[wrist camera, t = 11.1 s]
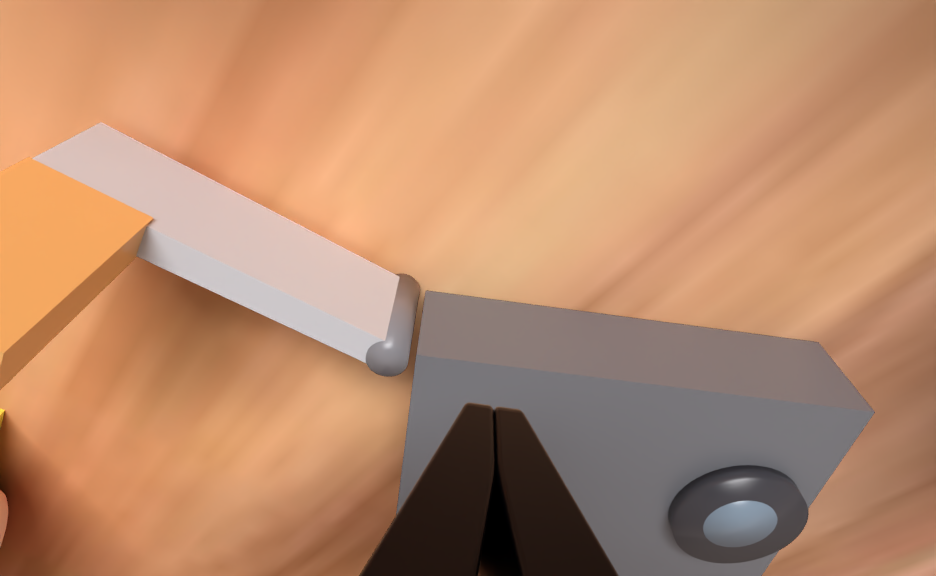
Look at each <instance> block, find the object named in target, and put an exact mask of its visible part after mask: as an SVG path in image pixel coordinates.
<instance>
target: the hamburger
mask: <svg viewBox="0 0 936 576" xmlns="http://www.w3.org/2000/svg"><path fill="white" fill-rule="evenodd" d="M4 412H5V410H3V409H0V428H1V424H2V420H3V416H4ZM7 519H8V503H7V498H6V495H5V494H4V493H3V492H2V491H1V490H0V547H1V544H2V541H3V538H4V534H5V531H6V525H7Z"/></svg>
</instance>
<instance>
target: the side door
mask: <svg viewBox="0 0 936 576" xmlns="http://www.w3.org/2000/svg"><path fill="white" fill-rule="evenodd" d="M136 257H139V258H141V259H144V260H146V261H148V262H150V263H152V264H154V265H156V266H159V267H161V268H163V269H165V270H167V271H169V272H171V273H174V274H176V275H178V276H180V277H182V278H184V279H186V280H189V281H191V282H193V283H195V284H197V285H199V286H201V287H204V288H206V289H208V290H210V291H212V292H214V293H217V294H219V295H221V296H223V297H225V298H227V299H229V300H232V301H234V302H236V303H238V304H240V305H242V306H244V307H247V308H249V309H251V310H253V311H255V312H257V313H259V314H262V315H264V316H266V317H268V318H270V319H272V320H274V321H277V322H279V323H281V324H283V325H285V326H287V327H289V328H292V329H294V330H296V331H298V332H300V333H302V334H304V335H307V336H309V337H311V338H313V339H315V340H317V341H319V342H322V343H324V344H326V345H328V346H330V347H332V348H334V349H337V350H339V351H341V352H343V353H345V354H347V355H349V356H352V357H354V358H356V359H358V360H360V361H362V362H364V363H367V365H368V367H369V368H370V369H371V370H372V371H373V372H375V373H376V374H379V375H382V376H396V375H398V374H400V373H402V372H403V371H404V370H405V369H406V367H407V365H408V360H409V354H410V348H411V342H412V335H413V329H414V323H415V317H416V311H417V305H418V299H419V293H420V287H419V284H418V282H417V281H416V280H415V279H414V278H413V277H411V276H409V275H407V274H393V273H391V272H389V271H388V270H386V269H384V268H382V267H380V266H378V265H376V264H374V263H372V262H370V261H368V260H366V259H364V258H362V257H361V256H359V255H357V254H355V253H353V252H351V251H349V250H347V249H345V248H343V247H341V246H339V245H337V244H335V243H333V242H332V241H330V240H328V239H326V238H324V237H322V236H320V235H318V234H316V233H314V232H312V231H310V230H308V229H306V228H305V227H303V226H301V225H299V224H297V223H295V222H293V221H291V220H289V219H287V218H285V217H283V216H281V215H279V214H278V213H276V212H274V211H272V210H270V209H268V208H266V207H264V206H262V205H260V204H258V203H256V202H254V201H252V200H250V199H249V198H247V197H245V196H243V195H241V194H239V193H237V192H235V191H233V190H231V189H229V188H227V187H225V186H223V185H222V184H220V183H218V182H216V181H214V180H212V179H210V178H208V177H206V176H204V175H202V174H200V173H198V172H196V171H195V170H193V169H191V168H189V167H187V166H185V165H183V164H181V163H179V162H177V161H175V160H173V159H171V158H169V157H167V156H166V155H164V154H162V153H160V152H158V151H156V150H154V149H152V148H150V147H148V146H146V145H144V144H142V143H140V142H139V141H137V140H135V139H133V138H131V137H129V136H127V135H125V134H123V133H121V132H119V131H117V130H115V129H113V128H112V127H110V126H108V125H106V124H104V123H102V122H100V123H98V124H96V125H95V126H93V127H91V128H89V129H87V130H85V131H83V132H81V133H79V134H77V135H76V136H74V137H72V138H70V139H68V140H66V141H64V142H62V143H60V144H58V145H57V146H55V147H53V148H51V149H49V150H47V151H45V152H43V153H41V154H39V155H38V156H36V157H34V158H30V157H28V158H26V159H24V160H22V161H20V162H18V163H16V164H15V165H13V166H11V167H9V168H7V169H5V170H3V171H1V172H0V390H1V389H2V388H3V387H4V386H5V385H6V384H7V383H8V382H9V381H10V380H11V379H12V378H13V377H14V376H15V375H16V374H17V373H18V372H19V371H20V370H21V369H22V368H23V367H25V366H26V365H27V364H28V363H29V362H30V361H31V360H32V359H33V358H34V357H35V356H36V355H37V354H38V353H39V352H40V351H41V350H42V349H43V348H44V347H45V346H46V345H47V344H48V343H49V342H50V341H51V340H52V339H53V338H54V337H55V336H56V335H57V334H58V333H59V332H60V331H61V330H62V329H64V328H65V327H66V326H67V325H68V324H69V323H70V322H71V321H72V320H73V319H74V318H75V317H76V316H77V315H78V314H79V313H80V312H81V311H82V310H83V309H84V308H85V307H86V306H87V305H88V304H89V303H90V302H91V301H92V300H93V299H94V298H95V297H96V296H97V295H98V294H99V293H100V292H101V291H103V290H104V289H105V288H106V287H107V286H108V285H109V284H110V283H111V282H112V281H113V280H114V279H115V278H116V277H117V276H118V275H119V274H120V273H121V272H122V271H123V270H124V269H125V268H126V267H127V266H128V265H129V264H130V263H131V262H132V261H133V260H134V259H135V258H136Z"/></svg>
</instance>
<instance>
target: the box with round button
mask: <svg viewBox="0 0 936 576" xmlns="http://www.w3.org/2000/svg"><path fill="white" fill-rule="evenodd" d="M468 402H471V403H478V404H485V405H490V406H491V407H492V408H493V410H494V409H495V408H496V407H507V408H514V409H519V410H521V411H522V412H523V413H524V414H525V416H526V418H527V419H528V421H529V423H530V425H531V426H532V428H533V430H534V431H535V433H536V435H537V437H538V438H539V440H540V442H541V443H542V445H543V447H544V449H545V450H546V452H547V454H548V455H549V457H550V459H551V461H552V462H553V464H554V466H555V467H556V469H557V471H558V473H559V474H560V476H561V478H562V479H563V481H564V483H565V485H566V486H567V488H568V490H569V491H570V493H571V495H572V496H573V498H574V500H575V502H576V503H577V505H578V507H579V508H580V510H581V512H582V514H583V515H584V517H585V519H586V520H587V522H588V524H589V526H590V527H591V529H592V531H593V532H594V534H595V536H596V538H597V539H598V541H599V543H600V544H601V546H602V548H603V550H604V551H605V553H606V555H607V556H608V558H609V560H610V562H611V563H612V565H613V567H614V568H615V570H616V572H617V573H618V575H619V576H762V574H763V573H764V571H765V570H766V568H767V567H768V565H769V564H770V563H771V561H772V560H773V558H774V557H775V555H776V554H777V553H778V551H779V550H781V549H782V548H784V547H785V546H787V545H788V544H790V543H791V542H792V541H793V540H794V539H795V538H796V537H798V535H799V534H800V533H801V532H802V530H803V529H804V527H805V525H806V523H807V520H808V508H809V506H810V505H811V504H812V502H813V501H814V499H815V498H816V496H817V495H818V493H819V492H820V491H821V489H822V488H823V486H824V485H825V483H826V482H827V480H828V479H829V478H830V476H831V475H832V473H833V472H834V470H835V469H836V468H837V466H838V465H839V463H840V462H841V460H842V459H843V457H844V456H845V455H846V453H847V452H848V450H849V449H850V447H851V446H852V444H853V443H854V442H855V440H856V439H857V437H858V436H859V434H860V433H861V431H862V430H863V429H864V427H865V426H866V424H867V423H868V421H869V420H870V419H871V417H872V416H873V414H874V413H875V412H874V410H873V409H872V408H871V407H870V406H869V404H868V403H867V402H866V401H865V399H864V398H863V397H862V396H861V394H860V393H859V392H858V391H857V389H856V388H855V387H854V386H853V384H852V383H851V382H850V381H849V379H848V378H847V377H846V376H845V375H844V373H843V372H842V371H841V370H840V368H839V367H838V366H837V365H836V363H835V362H834V361H833V360H832V358H831V357H830V356H829V355H828V353H827V352H826V351H825V350H824V349H823V347H822V346H821V345H820V344H819V342H812V341H804V340H797V339H789V338H781V337H774V336H766V335H759V334H751V333H744V332H736V331H728V330H721V329H713V328H706V327H698V326H690V325H683V324H675V323H668V322H660V321H653V320H645V319H637V318H630V317H622V316H615V315H607V314H600V313H592V312H584V311H577V310H569V309H562V308H554V307H547V306H539V305H531V304H524V303H516V302H509V301H501V300H494V299H486V298H478V297H471V296H463V295H456V294H448V293H441V292H433V291H426V293H425V299H424V306H423V313H422V320H421V327H420V333H419V340H418V347H417V354H416V362H415V369H414V377H413V385H412V393H411V401H410V409H409V417H408V425H407V433H406V441H405V449H404V457H403V465H402V473H401V481H400V489H399V497H398V505H397V513H398V512H399V510H400V508H401V507H402V505H403V504H404V502H405V500H406V499H407V497H408V495H409V494H410V492H411V491H412V489H413V487H414V486H415V484H416V482H417V481H418V479H419V478H420V476H421V474H422V473H423V471H424V469H425V468H426V466H427V465H428V463H429V461H430V460H431V458H432V456H433V455H434V453H435V452H436V450H437V448H438V447H439V445H440V443H441V442H442V440H443V439H444V437H445V435H446V434H447V432H448V430H449V429H450V427H451V426H452V424H453V422H454V421H455V419H456V417H457V416H458V414H459V413H460V411H461V409H462V408H463V406H464V405H465V404H466V403H468ZM397 513H396V515H397Z"/></svg>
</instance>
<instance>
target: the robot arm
mask: <svg viewBox="0 0 936 576" xmlns="http://www.w3.org/2000/svg"><path fill="white" fill-rule="evenodd" d="M359 576H619V575H618V573H617V572H616V570H615V568H614V567H613V565H612V563H611V562H610V560H609V558H608V556H607V555H606V553H605V551H604V550H603V548H602V546H601V544H600V543H599V541H598V539H597V538H596V536H595V534H594V532H593V531H592V529H591V527H590V526H589V524H588V522H587V520H586V519H585V517H584V515H583V514H582V512H581V510H580V508H579V507H578V505H577V503H576V502H575V500H574V498H573V496H572V495H571V493H570V491H569V490H568V488H567V486H566V485H565V483H564V481H563V479H562V478H561V476H560V474H559V473H558V471H557V469H556V467H555V466H554V464H553V462H552V461H551V459H550V457H549V455H548V454H547V452H546V450H545V449H544V447H543V445H542V443H541V442H540V440H539V438H538V437H537V435H536V433H535V431H534V430H533V428H532V426H531V425H530V423H529V421H528V419H527V418H526V416H525V414H524V413H523V412H522V411H521V410H519V409H514V408H507V407H496V408H495V409H494V410H493V408H492V407H491V406H490V405H485V404H478V403H471V402H468V403H466V404H465V405H464V406H463V408H462V409H461V411H460V413H459V414H458V416H457V417H456V419H455V421H454V422H453V424H452V426H451V427H450V429H449V430H448V432H447V434H446V435H445V437H444V439H443V440H442V442H441V443H440V445H439V447H438V448H437V450H436V452H435V453H434V455H433V456H432V458H431V460H430V461H429V463H428V465H427V466H426V468H425V469H424V471H423V473H422V474H421V476H420V478H419V479H418V481H417V482H416V484H415V486H414V487H413V489H412V491H411V492H410V494H409V495H408V497H407V499H406V500H405V502H404V504H403V505H402V507H401V508H400V510H399V512H398V513H397V515H396V517H395V518H394V520H393V521H392V523H391V525H390V526H389V528H388V530H387V531H386V533H385V534H384V536H383V538H382V539H381V541H380V543H379V544H378V546H377V547H376V549H375V551H374V552H373V554H372V556H371V557H370V559H369V560H368V562H367V564H366V565H365V567H364V569H363V570H362V572H361V573H360V575H359Z"/></svg>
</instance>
